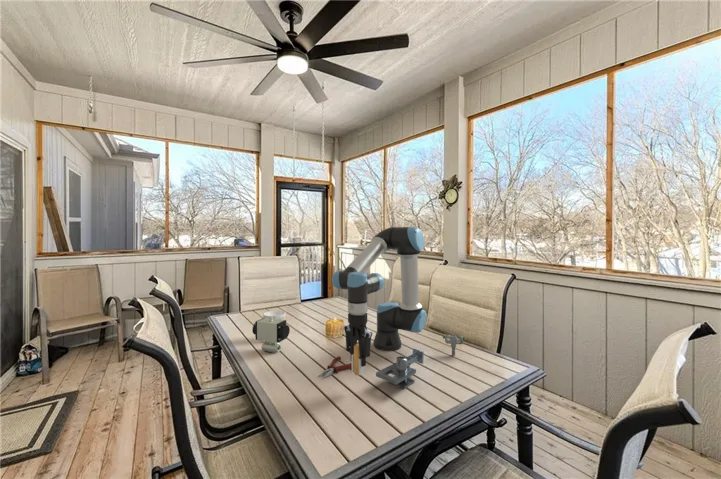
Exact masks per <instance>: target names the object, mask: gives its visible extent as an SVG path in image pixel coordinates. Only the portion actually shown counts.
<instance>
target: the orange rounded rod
mask: <svg viewBox="0 0 721 479" xmlns="http://www.w3.org/2000/svg"><path fill="white" fill-rule="evenodd" d="M359 357H360V352H359V344H358V343H357V344H355V345H354V372H353V374H354V375H355V376H362V375H363V374H361V375H359Z"/></svg>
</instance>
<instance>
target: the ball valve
mask: <svg viewBox="0 0 721 479" xmlns="http://www.w3.org/2000/svg"><path fill="white" fill-rule="evenodd" d="M290 330H291V329H290V325H288V323H287V319H284V320H280V319H272V317H270V318H264V317H263V318H260V319H258V320H256V321H255V322H254V323H253V326H252V333H253V335H254V337H255V341H262V343H261V350H262V351H264V352H269V353H279V352H280V351H281V348H282V347H281V344H280V343H281V342H283V341H285V340H286V339H287V338H288V337H289V335H290V332H291V331H290Z"/></svg>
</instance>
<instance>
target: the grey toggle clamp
mask: <svg viewBox="0 0 721 479" xmlns="http://www.w3.org/2000/svg"><path fill="white" fill-rule="evenodd" d="M424 361H425V360H424V351H421V350H419V349H418V348H417V349H416V348H412V354H410V355H408V356H403V355H402V356H396V362H394V363H392V364H390V365H388V366H386V367H385V368H382V369H380V370H378V371H376V372H375V377H377V378H379V379H381V380H383V381H386V382H388V383H390V384H393V385H394V386H397V387H399V388H401V389H404V390H405V389H407V388H409V387H410V386H411V385H413V384H415V383H416V382H415V381H416V380H414V379H412V378H410V377H412V376H414V375H415V374H417V369H416V368H413V367H411V365H413V364H416V363H418V364H424ZM390 375H393V376H390Z"/></svg>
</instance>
